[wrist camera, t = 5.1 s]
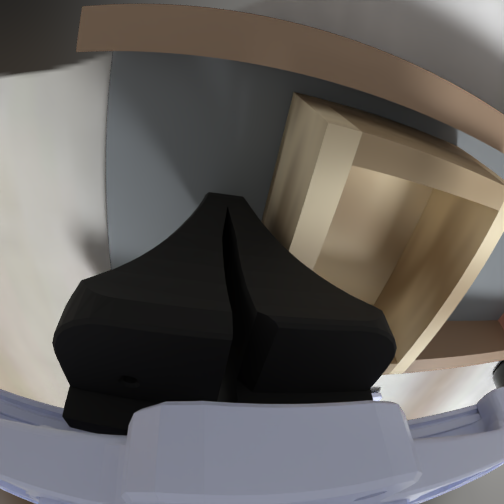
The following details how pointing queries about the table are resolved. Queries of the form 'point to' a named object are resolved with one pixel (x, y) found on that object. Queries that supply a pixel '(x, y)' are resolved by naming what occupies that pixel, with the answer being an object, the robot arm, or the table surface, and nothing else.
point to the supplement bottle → (499, 376)
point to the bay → (264, 129)
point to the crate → (384, 214)
